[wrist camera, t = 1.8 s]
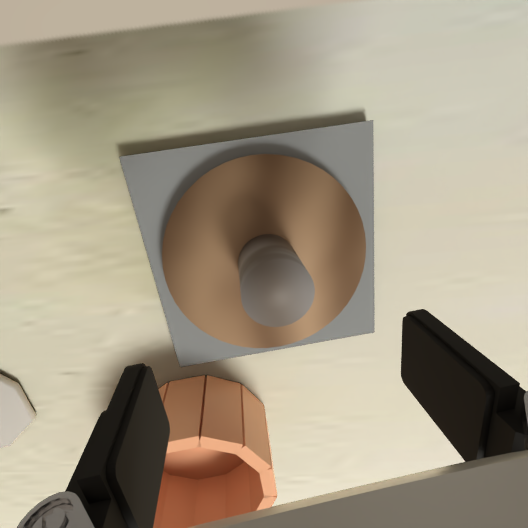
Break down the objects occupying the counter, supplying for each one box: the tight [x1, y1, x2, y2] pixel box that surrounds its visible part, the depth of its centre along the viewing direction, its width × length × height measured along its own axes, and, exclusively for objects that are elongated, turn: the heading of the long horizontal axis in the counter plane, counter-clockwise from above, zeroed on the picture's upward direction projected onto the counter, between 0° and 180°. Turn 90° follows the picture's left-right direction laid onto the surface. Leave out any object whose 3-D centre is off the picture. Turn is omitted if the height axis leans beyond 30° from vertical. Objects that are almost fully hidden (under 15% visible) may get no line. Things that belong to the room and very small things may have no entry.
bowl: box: [153, 375, 277, 528], centre depth 26 cm, size 12×12×6 cm
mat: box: [119, 120, 374, 367], centre depth 23 cm, size 16×16×1 cm
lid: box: [162, 154, 366, 348], centre depth 19 cm, size 14×14×6 cm
